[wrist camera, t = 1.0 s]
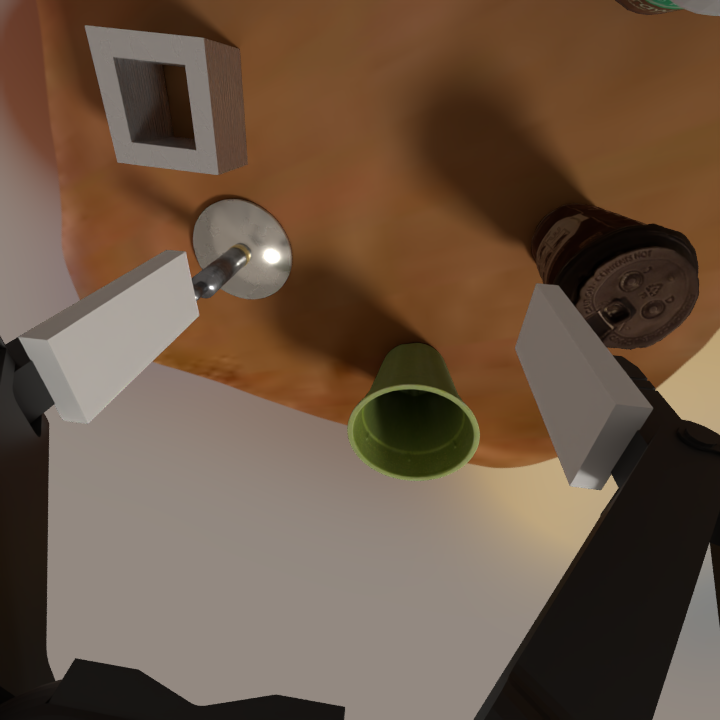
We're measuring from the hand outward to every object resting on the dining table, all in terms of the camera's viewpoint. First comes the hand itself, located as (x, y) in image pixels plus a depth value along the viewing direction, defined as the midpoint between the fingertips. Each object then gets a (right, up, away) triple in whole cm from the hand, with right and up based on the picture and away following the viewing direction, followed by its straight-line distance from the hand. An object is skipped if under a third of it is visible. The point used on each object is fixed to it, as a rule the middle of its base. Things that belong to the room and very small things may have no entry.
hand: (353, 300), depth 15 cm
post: (-11, +9, +24) cm, 28 cm away
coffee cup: (+19, +8, +20) cm, 28 cm away
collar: (-13, +19, +17) cm, 29 cm away
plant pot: (+6, -3, +29) cm, 30 cm away
